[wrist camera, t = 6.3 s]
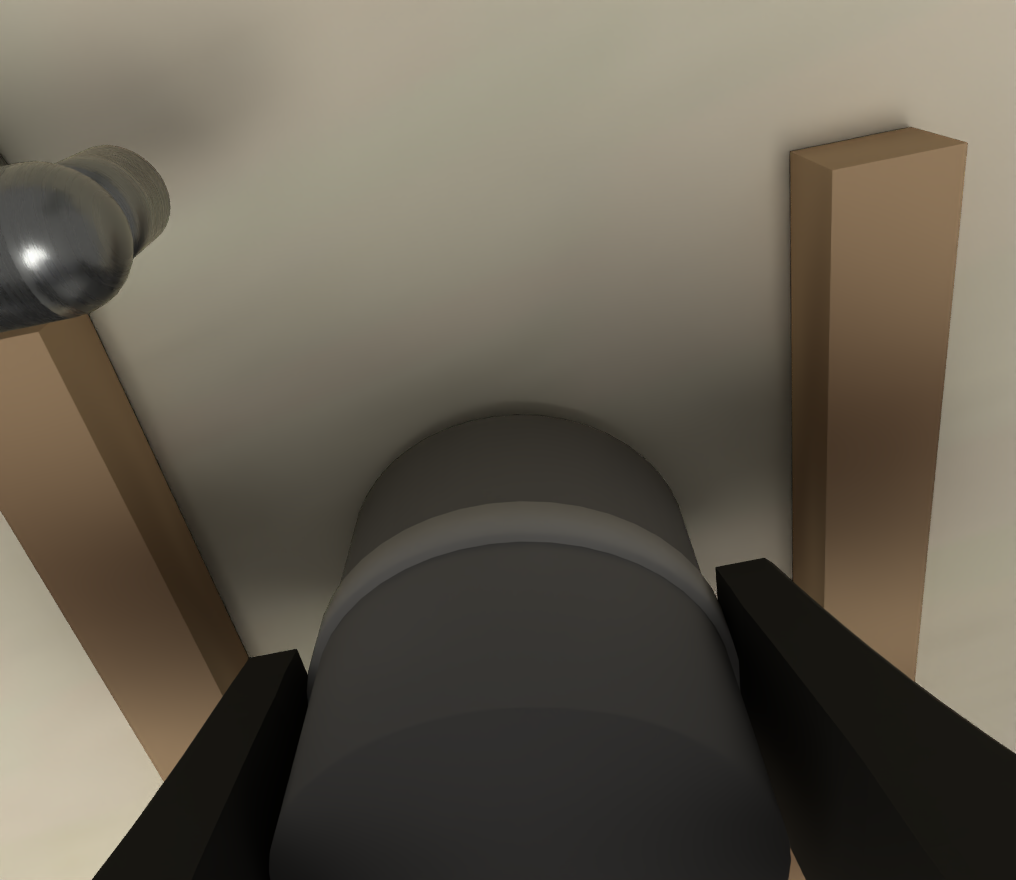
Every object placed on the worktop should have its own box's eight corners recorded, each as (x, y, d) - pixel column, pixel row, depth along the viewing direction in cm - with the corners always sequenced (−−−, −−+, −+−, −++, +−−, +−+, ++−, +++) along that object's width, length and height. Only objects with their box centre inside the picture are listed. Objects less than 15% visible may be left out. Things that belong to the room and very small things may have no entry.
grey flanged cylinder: (717, 645, 13) (825, 979, 9) (414, 709, 14) (375, 1049, 9) (656, 365, 10) (765, 638, 6) (289, 462, 11) (156, 769, 7)
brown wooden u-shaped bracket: (864, 844, 17) (893, 899, 16) (309, 948, 17) (301, 1010, 16) (910, 126, 10) (968, 142, 9) (-37, 320, 10) (-92, 358, 9)
